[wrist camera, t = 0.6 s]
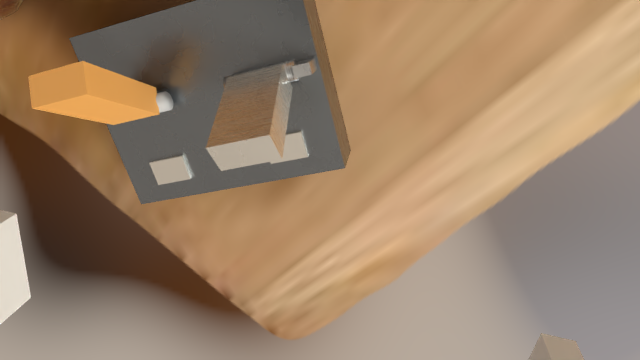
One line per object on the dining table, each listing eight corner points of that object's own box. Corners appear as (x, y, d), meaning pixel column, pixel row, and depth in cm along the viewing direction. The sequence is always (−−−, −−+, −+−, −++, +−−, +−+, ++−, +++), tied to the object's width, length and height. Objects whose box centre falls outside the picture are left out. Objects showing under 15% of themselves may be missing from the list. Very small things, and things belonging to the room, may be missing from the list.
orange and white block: (115, 103, 35) (21, 77, 27) (171, 89, 34) (89, 58, 26) (118, 128, 35) (25, 110, 27) (175, 115, 34) (94, 92, 26)
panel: (101, 32, 37) (-26, 54, 26) (307, -28, 33) (258, -34, 22) (163, 185, 42) (78, 256, 31) (350, 150, 38) (328, 219, 27)
